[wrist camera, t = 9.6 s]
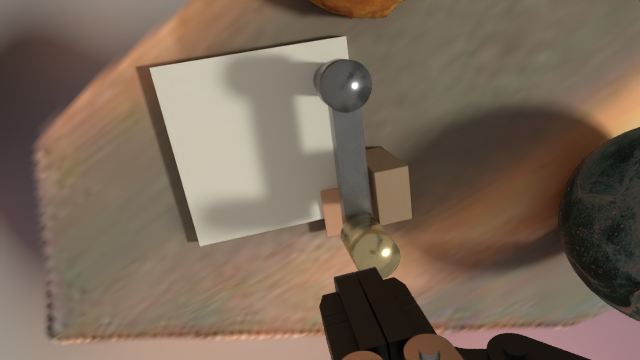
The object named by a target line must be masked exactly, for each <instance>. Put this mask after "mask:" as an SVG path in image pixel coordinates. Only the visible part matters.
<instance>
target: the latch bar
mask: <svg viewBox="0 0 640 360" xmlns="http://www.w3.org/2000/svg"><path fill="white" fill-rule="evenodd" d="M371 90H372V81H371V76H370V74H369V72H368V70H367V69H366V68H365V67H364V66H363V65H362V64H361V63H359V62H357V61H354V60H348V59H334V60H331V61H329V62H327V63H326V64H325V65H324V66H323V67H322V68H321V69H320V71H319V73H318V75H317V78H316V91H317V94H318V96H319V98H320V99H321V100H322V101H323V102H324V103H325V104H326V105H328V111H329V119H330V127H331V135H332V143H333V151H334V159H335V167H336V175H337V183H338V191H339V200H340V208H341V216H342V224H343V227H342V229H341V239H342V241H343V243H344V245H345V247H346V249H347V251H348V253H349V254H350V256H351V258H352V260H353V262H354V264H355V265H356V267H357V269H358V271H360V270H364V269H368V268H372V267H376V268H377V270H378V272H379V273H380V275H381V277H382V279H383V278H386V277H388V276H389V275H391V274H392V273H393V272H394V271H395V270H396V268H397V267H398V265H399V262H400V251H399V249H398V247H397V245H396V244H395V243H394V242H393V240H392V239H391V238H390V237H389V235H388V234H387V233H386V232H385V230H384V229H383V228H382V227H381V225H380V224H379V223H378V222H377V220H376V219H375V218H374V217H372V213H371V203H370V193H369V182H368V172H367V161H366V151H365V140H364V130H363V120H362V109H361V107H362V106H363V105H364V104H365V103H366V102H367V100H368V99H369V97H370V94H371Z"/></svg>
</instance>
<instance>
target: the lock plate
mask: <svg viewBox="0 0 640 360" xmlns="http://www.w3.org/2000/svg"><path fill="white" fill-rule="evenodd" d="M334 59H348V60H349V58H348V50H347V41H346V36H342V37H336V38H330V39H324V40H317V41H311V42H305V43H299V44H293V45H287V46H280V47H274V48H268V49H262V50H256V51H250V52H243V53H237V54H231V55H225V56H219V57H213V58H206V59H200V60H194V61H188V62H182V63H176V64H169V65H163V66H157V67H151V68H150V72H151V75H152V79H153V82H154V86H155V89H156V93H157V96H158V100H159V103H160V107H161V110H162V114H163V118H164V121H165V125H166V128H167V132H168V135H169V139H170V142H171V146H172V149H173V153H174V156H175V160H176V163H177V167H178V170H179V174H180V177H181V181H182V184H183V188H184V191H185V195H186V198H187V202H188V205H189V209H190V212H191V216H192V219H193V223H194V226H195V230H196V233H197V237H198V240H199V244H200V246H203V245H208V244H212V243H217V242H221V241H226V240H230V239H235V238H239V237H244V236H248V235H252V234H257V233H261V232H266V231H270V230H275V229H279V228H284V227H288V226H293V225H297V224H302V223H306V222H311V221H315V220H320V219H324V220H325V226H326V233H327V237H330V236H335V235H339V234H341V229H342V227H343V224H342V216H341V208H340V200H339V191H338V183H337V175H336V167H335V159H334V151H333V143H332V135H331V127H330V119H329V111H328V105H326V104H325V103H324V102H323V101H322V100H321V99H320V98H319V96H318V94H317V91H316V78H317V75H318V73H319V71H320V69H321V68H322V67H323V66H324V65H325V64H326V63H327V62H329V61H331V60H334ZM365 151H366V161H367V172H368V182H369V193H370V203H371V213H372V217H374V218H375V219H376V220H377V222H378V223H379V224H380V225H381V226H382V225H386V224H390V223H395V222H399V221H404V220H408V219H412V210H411V197H410V184H409V171H408V166H407V165H406V164H405V163H403V162H402V161H400V160H399V159H398V158H396V157H395V156H393V155H392V154H391V153H389V152H388V151H386V150H385V149H384V148H382V147H376V148H371V149H366V150H365Z"/></svg>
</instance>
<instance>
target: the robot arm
mask: <svg viewBox="0 0 640 360" xmlns="http://www.w3.org/2000/svg"><path fill="white" fill-rule="evenodd" d="M334 284H335V289H336V292H334V293H330V294H326V295H323V296H322V300H321V303H320V306H319V307H320V312H321V316H322V321H323V326H324V330H325V335H326V340H327V344H328V348H329V351H330V355H331V359H332V360H590V359H587V358H584V357H582V356H579V355H576V354H573V353H571V352H568V351H565V350H562V349H560V348H557V347H554V346H551V345H548V344H546V343H543V342H540V341H537V340H534V339H532V338H529V337H526V336H523V335H519V334H514V333H504V334H499V335H497V336H495V337H493V338H492V339H491V340H490V341H489V342H488V344H487V349H463V348H458V347H454V346H453V345H452V344H451V343H450V342H449V341H448V340H447V339H445V338H444V337H442V336H439V335H437V334H436V332H435V331H434V329H433V327H432V326H431V324H430V323H429V321H428V320H427V318H426V316H425V315H424V313H423V312H422V310H421V309H420V307H419V305H418V304H417V302H416V301H415V299H414V298H413V296H412V295H411V293H410V291H409V290H408V288H407V286H406V285H405V284H404V283H402V282H401V281H399V280H398V279H396V278H394V277H393V278H389V279H385V280H383V279H382V277H381V275H380V273H379V272H378V270H377V268H376V267H372V268H368V269H364V270H360V271H356V272H355V273H354V272H352V273H348V274H344V275H340V276H336V277H334Z"/></svg>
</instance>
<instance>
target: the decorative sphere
mask: <svg viewBox="0 0 640 360" xmlns="http://www.w3.org/2000/svg"><path fill="white" fill-rule="evenodd" d="M558 228H559V234H560V239H561V243H562V246H563V249H564V251H565V254H566V256H567V258H568V260H569V262H570V264H571V266H572V267H573V269H574V271H575V272H576V273H577V275H578V276H579V277H580V278H581V280H582V281H583V282H584V283H585V284H586V285H587V287H588V288H589V289H590V290H591V291H593V292H594V293H595V294H596V295H597V296H598V297H600V298H601V299H602V300H603V301H604V302H606V303H607V304H608V305H610V306H612V307H613V308H615V309H616V310H618V311H620V312H622V313H623V314H625V315H627V316H629V317H631V318H633V319H635V320H637V321H640V127H638V128H636V129H633V130H630V131H627V132H625V133H623V134H621V135H618V136H616V137H614V138H612V139H610V140H609V141H607V142H606V143H604V144H602V145H601V146H599V147H598V148H597V149H596V150H594V151H593V152H592V153H590V154H589V155H588V156H587V157H586V158H585V159H584V160H583V161H582V162H581V163H580V165H579V166H578V167H577V168H576V169H575V171H574V172H573V174H572V175H571V177H570V178H569V180H568V182H567V184H566V186H565V189H564V191H563V194H562V197H561V201H560V205H559V213H558Z"/></svg>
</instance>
